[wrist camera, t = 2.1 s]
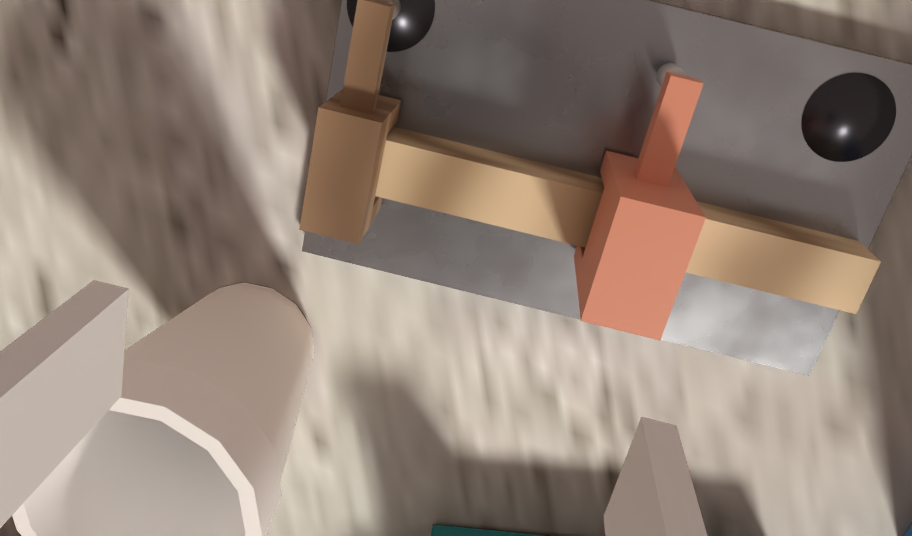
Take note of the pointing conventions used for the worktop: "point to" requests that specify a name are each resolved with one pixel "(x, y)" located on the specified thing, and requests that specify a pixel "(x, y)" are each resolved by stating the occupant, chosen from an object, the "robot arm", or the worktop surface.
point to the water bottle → (909, 531)
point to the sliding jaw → (643, 222)
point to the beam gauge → (531, 191)
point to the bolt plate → (636, 145)
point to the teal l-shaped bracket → (471, 532)
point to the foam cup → (189, 428)
